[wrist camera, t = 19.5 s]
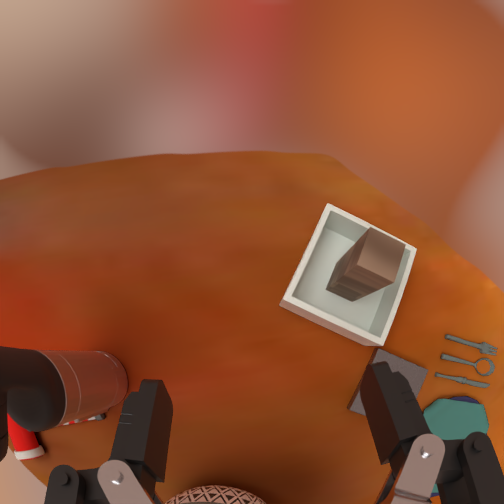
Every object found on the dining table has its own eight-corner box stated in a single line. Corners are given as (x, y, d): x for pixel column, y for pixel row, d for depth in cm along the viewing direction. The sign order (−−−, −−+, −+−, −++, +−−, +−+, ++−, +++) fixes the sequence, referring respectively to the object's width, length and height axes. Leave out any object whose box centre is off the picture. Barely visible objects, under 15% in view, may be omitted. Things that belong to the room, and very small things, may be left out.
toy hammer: (93, 378, 41) (72, 381, 35) (118, 444, 38) (101, 455, 32) (10, 398, 39) (-11, 400, 33) (31, 453, 36) (11, 460, 30)
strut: (352, 302, 43) (394, 282, 29) (325, 289, 44) (356, 264, 29) (362, 274, 44) (405, 244, 30) (336, 262, 45) (370, 226, 30)
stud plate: (397, 426, 38) (412, 433, 33) (346, 407, 40) (357, 415, 34) (423, 369, 41) (441, 371, 35) (375, 348, 42) (389, 348, 37)
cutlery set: (376, 493, 35) (381, 498, 33) (435, 328, 43) (442, 327, 41) (456, 492, 33) (463, 496, 31) (504, 350, 41) (512, 349, 39)
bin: (365, 345, 42) (382, 346, 35) (278, 305, 44) (282, 299, 38) (397, 261, 46) (416, 248, 39) (318, 221, 48) (327, 203, 41)
